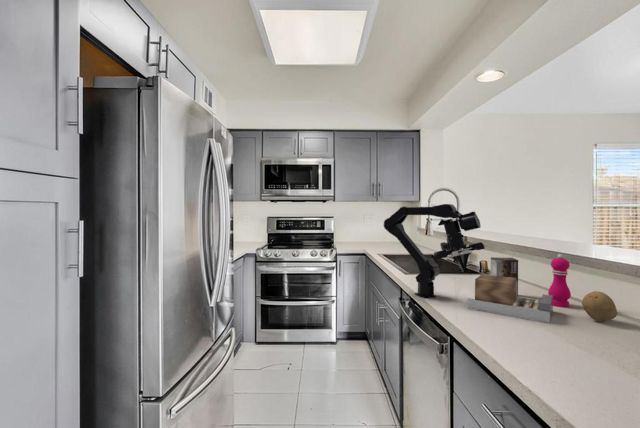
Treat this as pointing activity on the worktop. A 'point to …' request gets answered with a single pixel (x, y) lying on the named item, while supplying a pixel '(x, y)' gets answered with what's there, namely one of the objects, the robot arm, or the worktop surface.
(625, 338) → the worktop surface
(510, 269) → the coffee box
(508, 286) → the slab
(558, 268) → the pepper mill
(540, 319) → the track
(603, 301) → the potato
